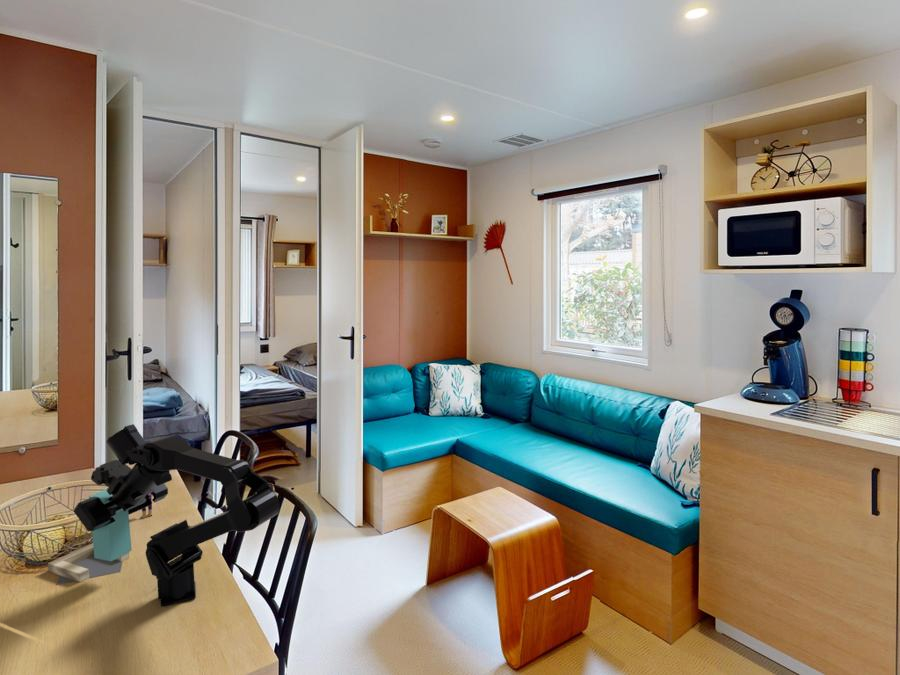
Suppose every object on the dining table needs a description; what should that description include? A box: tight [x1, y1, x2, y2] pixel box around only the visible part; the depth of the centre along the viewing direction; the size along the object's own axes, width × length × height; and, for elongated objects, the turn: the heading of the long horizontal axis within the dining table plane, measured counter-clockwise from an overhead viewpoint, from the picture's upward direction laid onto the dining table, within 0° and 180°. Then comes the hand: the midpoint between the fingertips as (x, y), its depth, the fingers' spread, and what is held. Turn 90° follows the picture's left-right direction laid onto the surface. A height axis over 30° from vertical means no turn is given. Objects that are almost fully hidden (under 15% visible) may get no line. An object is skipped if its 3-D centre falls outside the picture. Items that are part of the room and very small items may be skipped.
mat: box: [55, 555, 123, 586], centre depth 125 cm, size 12×12×1 cm
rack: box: [47, 542, 130, 583], centre depth 126 cm, size 11×12×2 cm
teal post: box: [88, 488, 133, 561], centre depth 119 cm, size 5×5×14 cm
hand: (106, 522), depth 120 cm, fingers closed on teal post, 5 cm apart
